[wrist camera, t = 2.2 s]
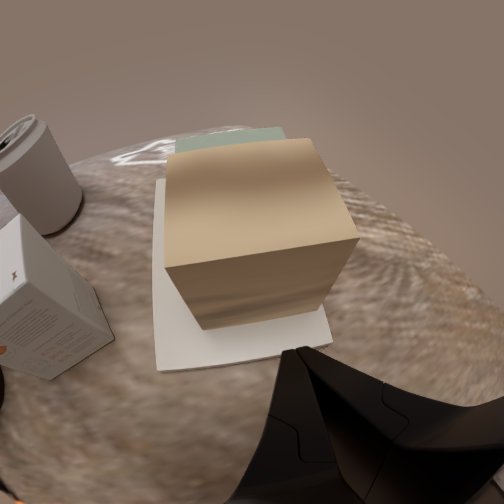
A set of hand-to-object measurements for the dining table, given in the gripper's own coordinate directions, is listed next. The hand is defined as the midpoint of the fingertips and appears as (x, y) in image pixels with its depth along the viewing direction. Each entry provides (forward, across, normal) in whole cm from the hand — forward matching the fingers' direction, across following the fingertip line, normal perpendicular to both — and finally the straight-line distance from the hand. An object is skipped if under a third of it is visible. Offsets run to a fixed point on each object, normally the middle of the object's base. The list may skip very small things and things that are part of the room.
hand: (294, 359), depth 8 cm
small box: (+11, +16, +4) cm, 20 cm away
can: (+21, +20, -7) cm, 30 cm away
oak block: (+12, 0, +1) cm, 12 cm away
